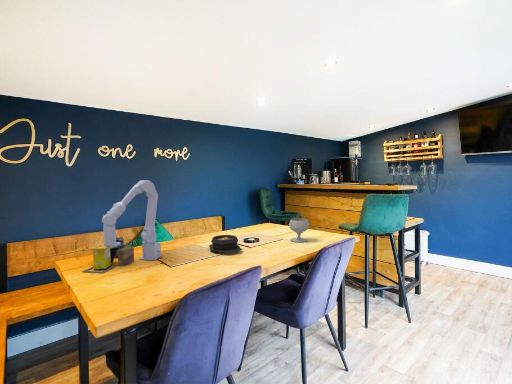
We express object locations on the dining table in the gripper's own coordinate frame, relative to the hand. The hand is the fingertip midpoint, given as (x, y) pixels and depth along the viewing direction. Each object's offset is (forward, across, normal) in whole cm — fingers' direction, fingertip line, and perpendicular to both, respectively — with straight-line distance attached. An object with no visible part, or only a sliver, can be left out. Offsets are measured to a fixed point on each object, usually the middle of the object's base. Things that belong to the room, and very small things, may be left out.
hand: (110, 262), depth 149 cm
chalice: (+2, -68, +97) cm, 119 cm away
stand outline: (+1, +7, 0) cm, 7 cm away
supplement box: (+1, +6, 0) cm, 7 cm away
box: (+1, -14, -7) cm, 16 cm away
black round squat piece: (+2, -36, +52) cm, 63 cm away
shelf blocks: (+1, -3, 0) cm, 3 cm away
